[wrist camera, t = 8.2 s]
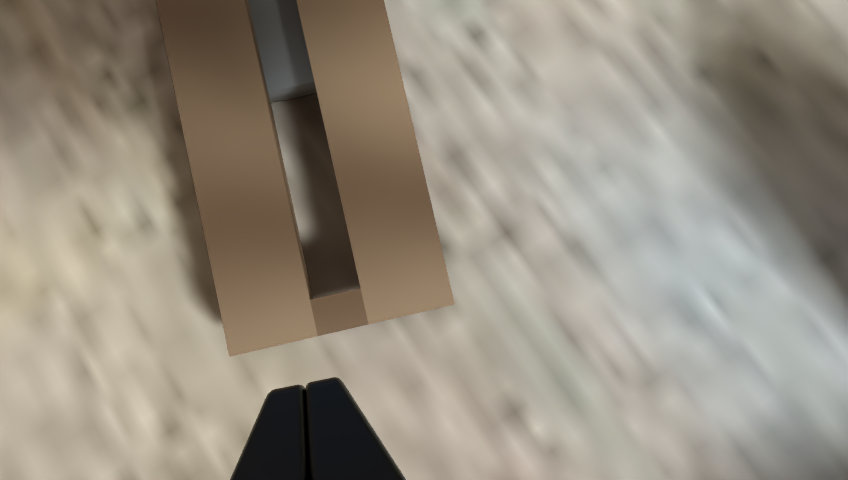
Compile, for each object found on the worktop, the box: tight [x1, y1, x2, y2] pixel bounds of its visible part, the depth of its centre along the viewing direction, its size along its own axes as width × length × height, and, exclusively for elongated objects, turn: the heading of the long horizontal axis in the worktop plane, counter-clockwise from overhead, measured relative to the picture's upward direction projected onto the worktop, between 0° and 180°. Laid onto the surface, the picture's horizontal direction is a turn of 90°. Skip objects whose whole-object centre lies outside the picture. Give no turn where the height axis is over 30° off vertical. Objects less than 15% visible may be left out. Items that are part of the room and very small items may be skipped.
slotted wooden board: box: [156, 0, 454, 356], centre depth 22 cm, size 18×6×2 cm, turn 13°
